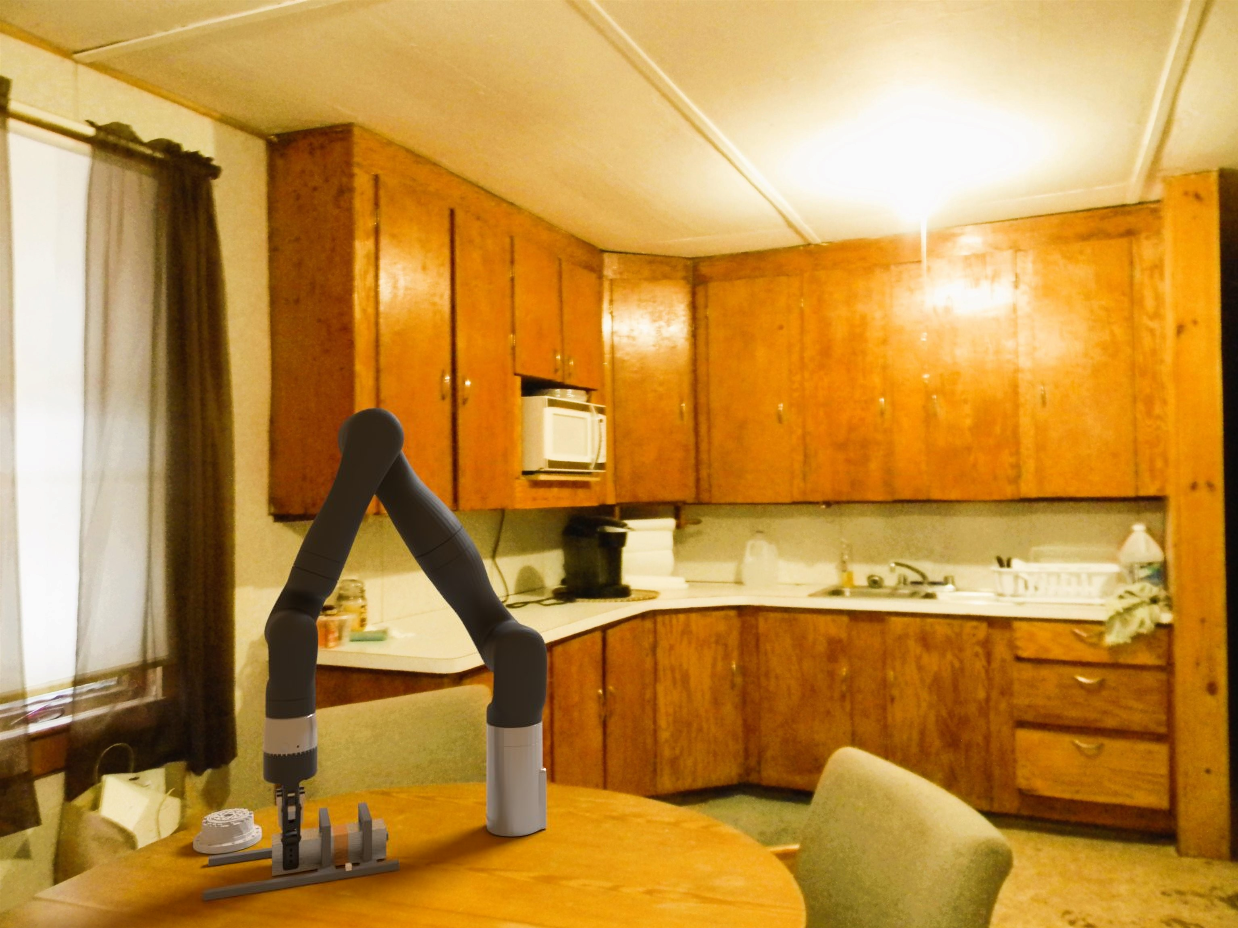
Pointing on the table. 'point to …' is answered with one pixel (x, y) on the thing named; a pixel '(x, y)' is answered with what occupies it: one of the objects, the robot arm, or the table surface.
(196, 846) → the mechanical component
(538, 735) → the robot arm
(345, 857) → the bar
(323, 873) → the collar frame
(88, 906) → the table surface
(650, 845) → the table surface
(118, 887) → the table surface
